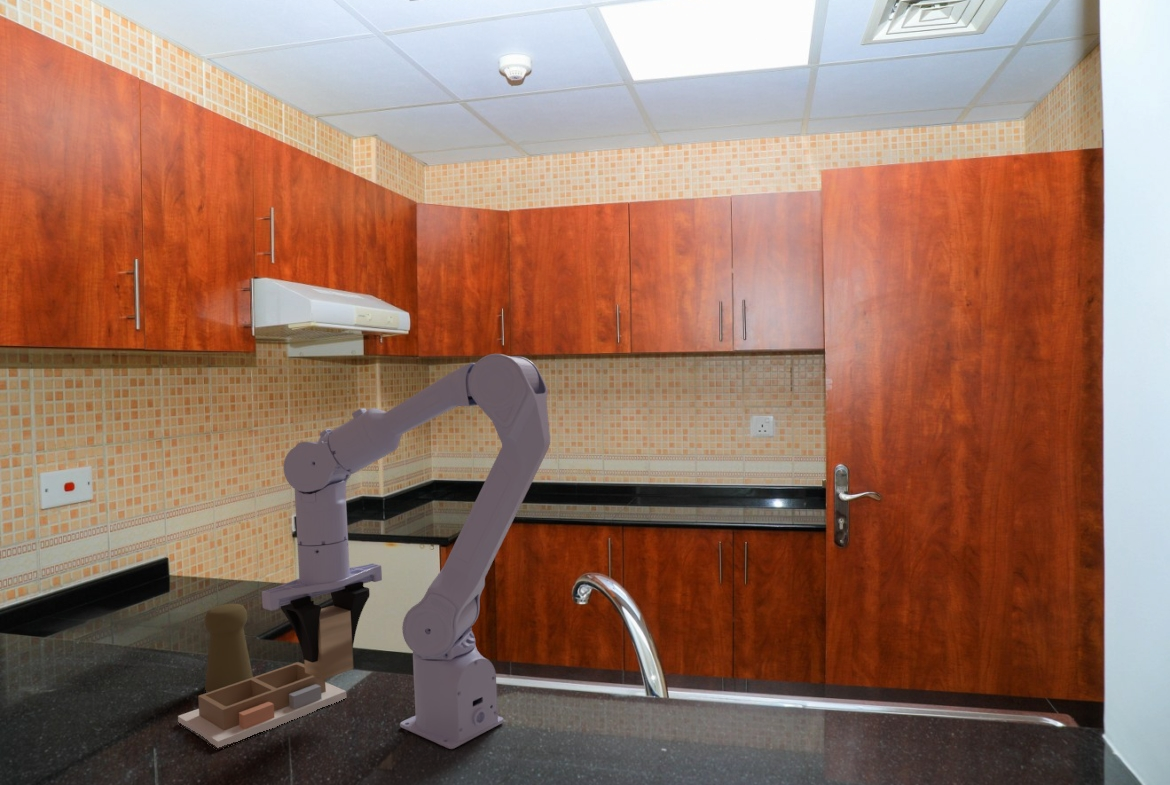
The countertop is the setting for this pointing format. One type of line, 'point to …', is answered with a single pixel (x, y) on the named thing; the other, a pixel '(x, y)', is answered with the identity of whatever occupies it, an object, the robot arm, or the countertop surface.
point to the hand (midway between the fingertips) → (328, 653)
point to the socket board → (259, 704)
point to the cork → (226, 647)
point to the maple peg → (332, 644)
